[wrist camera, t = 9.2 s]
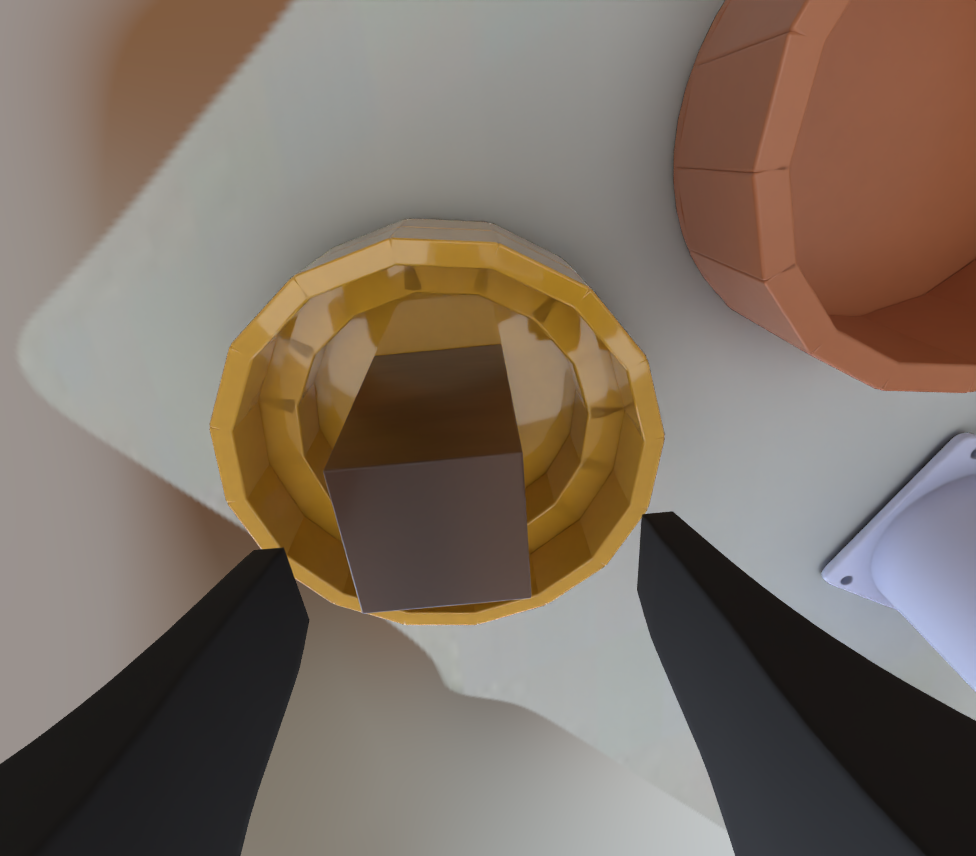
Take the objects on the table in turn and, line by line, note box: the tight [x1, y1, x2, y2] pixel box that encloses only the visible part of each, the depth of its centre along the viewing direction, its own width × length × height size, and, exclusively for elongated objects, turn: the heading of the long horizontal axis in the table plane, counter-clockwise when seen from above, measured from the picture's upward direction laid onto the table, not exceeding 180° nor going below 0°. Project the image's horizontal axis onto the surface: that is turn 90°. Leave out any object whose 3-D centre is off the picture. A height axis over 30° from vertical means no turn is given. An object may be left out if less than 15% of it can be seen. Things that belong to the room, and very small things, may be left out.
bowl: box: [210, 218, 665, 625], centre depth 16 cm, size 12×12×4 cm
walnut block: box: [323, 344, 532, 614], centre depth 15 cm, size 4×4×7 cm
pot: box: [674, 0, 976, 393], centre depth 13 cm, size 12×12×5 cm
